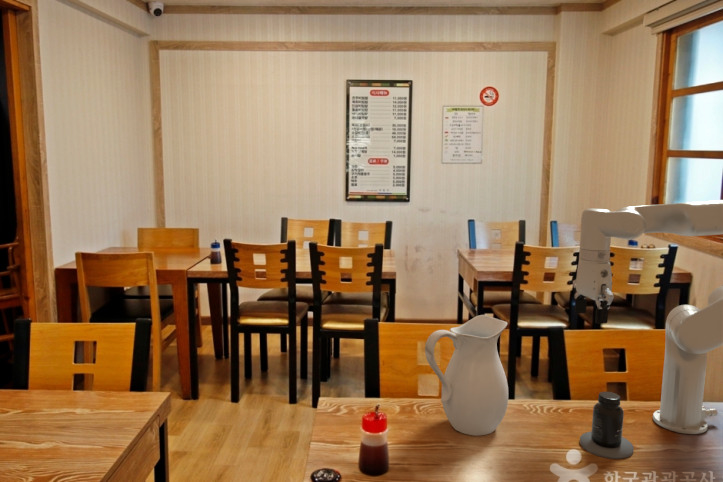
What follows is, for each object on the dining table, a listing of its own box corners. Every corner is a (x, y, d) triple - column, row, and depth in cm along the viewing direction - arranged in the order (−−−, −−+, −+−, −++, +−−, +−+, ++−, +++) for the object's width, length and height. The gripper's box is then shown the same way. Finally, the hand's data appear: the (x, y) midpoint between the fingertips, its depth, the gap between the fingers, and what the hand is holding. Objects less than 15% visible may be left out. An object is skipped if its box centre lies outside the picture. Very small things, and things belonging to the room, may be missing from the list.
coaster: (613, 432, 148) (613, 429, 148) (644, 456, 136) (644, 452, 136) (570, 436, 146) (570, 433, 146) (598, 461, 134) (598, 458, 134)
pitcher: (479, 407, 163) (482, 310, 158) (521, 432, 148) (525, 327, 143) (406, 424, 152) (407, 321, 148) (442, 454, 137) (445, 341, 133)
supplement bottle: (624, 450, 137) (628, 402, 136) (593, 447, 139) (597, 400, 137) (617, 436, 144) (621, 390, 142) (588, 434, 145) (591, 388, 144)
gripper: (627, 260, 146) (623, 326, 149) (588, 249, 163) (585, 308, 166) (600, 262, 145) (596, 328, 148) (564, 250, 162) (560, 310, 164)
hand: (590, 317), depth 157 cm, fingers open, 9 cm apart
